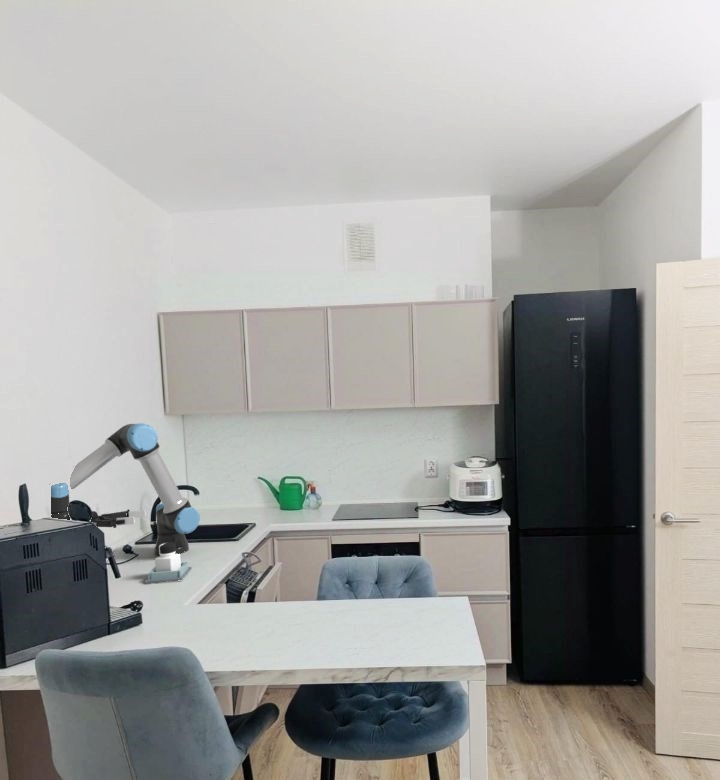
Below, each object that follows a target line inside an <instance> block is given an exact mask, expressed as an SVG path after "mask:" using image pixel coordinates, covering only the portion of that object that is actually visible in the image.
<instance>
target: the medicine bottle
mask: <svg viewBox="0 0 720 780" xmlns="http://www.w3.org/2000/svg"><path fill="white" fill-rule="evenodd" d="M159 554H160V555H158V556H157V557H156V558H155V559H154V564H155V565H154V567H155V568H156V572H163V571H175V570H179V569H180V567H181V563H182V561H181V553H179V554H175V544H174V543H164V544H161V545H160V546H159Z"/></svg>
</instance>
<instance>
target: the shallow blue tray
mask: <svg viewBox="0 0 720 780" xmlns="http://www.w3.org/2000/svg"><path fill="white" fill-rule="evenodd" d="M191 569H192V566H189V561H186V562H181V567H180V569H179V570H175V571H163V572H156V568H155V566H154V567H153V568H152V569H151V570H150V571H149V572H148V573H147V579H146V580H145V581H144V585H152V584H151V583H155V584H159V583H158V582H166V581H178V580H182V579H183V578H184V577H185V576H186V575H187V576H188V574H189V573H190V572H191V571H192V570H191ZM190 570H191V571H190ZM189 571H190V572H189ZM188 572H189V573H188ZM187 573H188V574H187ZM187 576H186V577H187ZM186 577H185V578H186ZM185 578H184V579H185ZM184 579H183V580H184ZM183 580H182V581H183ZM178 582H179V581H178ZM166 583H167V582H166Z"/></svg>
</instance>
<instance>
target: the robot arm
mask: <svg viewBox="0 0 720 780" xmlns="http://www.w3.org/2000/svg"><path fill="white" fill-rule="evenodd" d="M158 437H159V435H158V433H157V430H156V429H155V428H154V426H152V425H150V424H146V423H142V422H138V423H127V424H125V425H123V426H121V427H120V428H119V429H118V430H116V431H115V432H114V433H112V434H111V435H110V436H108V437H107V438H106V439H105V441H104V443H103V444H102V445H101V446H99V447H98V448H97V449H95V450H94V451H92V452H91V453H90V454H88V455H87V456H86V457H84V458H83V459H82V460H80V461H79V462H78V463H76V464H77V465H76V464H75V465H76V466H75V465H74V466H75V468H74V470H73V472H72V474H71V477H70V487H71V489H73V490H75V489H76V488H77V487H78V486H81V484H82V483H84V482H86V480H88V479H89V478H90V477H92V476H93V475H94V474H95V473H96V472H98V471H100V469H102V468H103V467H105V466H106V465H107V464H108V463H111V461H113V460H114V459H115V458H116V457H121V456H123V455H124V454H126V453H128V452H130V455H132V458H133V459H134V460H137V461H139V462H140V465H141V466H142V468H143V470H144V471H145V473H146V476H147V477H148V479H149V481H150V483H151V485H152V487H153V489H154V491H155V492H156V494H157V496H158V497H159V499H160V501H161V503H158V504H157V505H156V507H155V514H156V516H155V517H156V529H157V539H156V542H155V545H154V546H155V547H154V554H155V555H156V556H160V554H159V546H160V545H161V544H164V543H174V544H175V554H178V553H179V554H182V553H181V552H183V553H185V552H184V551H186V552H187V551H189V550H188V549H190V547H189V546H190V545H189V542H188V540H187V538H186V535H185V534H190V533H193V531H195V530H196V529H198V526H199V524H200V520H201V517H200V516H201V515H200V513H199V511H198V510H197V509H196V508H194V507H192V505H191V503H190V501H189V499H188V498H187V497H183V495H182V493H181V491H180V489H179V488H178V485H177V484H176V482H175V480H174V478H173V476H172V475H171V472H170V471H169V469H168V468H167V466H166V463H165V461H164V459H163V458H162V456H161V453H160V452H159V449H160V447H161V445H160V444H159V442H158ZM68 504H70V492H69V490H68V485H67V484H66V483H59V484H55V485H52V486H51V514H52V515H51V517H52V518H58V519H67V520H70V517H69V515H68V511H67V507H68ZM146 512H147V511H146V510H145V509H143V510H131V509H127V510H123V511H117V512H112V513H103V514H101V515H98V512H97V511H94V510H93V511H92V519H91V522H93V523H94V524H95V525H96V526H97V528H113V529H116V528H117V526H128V525H130V526H131V525H135V524H136V521H135V519H138V518H145V517H147V513H146ZM58 513H59V514H58Z"/></svg>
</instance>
